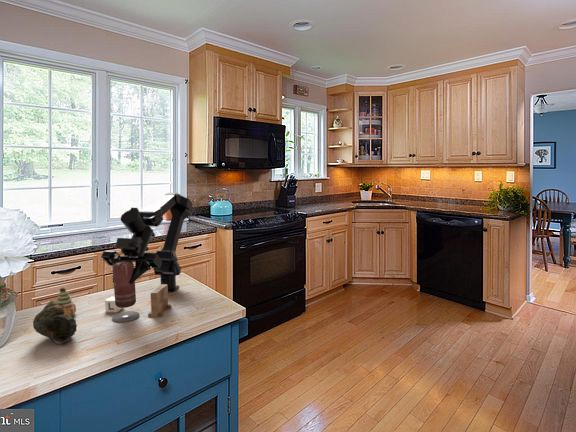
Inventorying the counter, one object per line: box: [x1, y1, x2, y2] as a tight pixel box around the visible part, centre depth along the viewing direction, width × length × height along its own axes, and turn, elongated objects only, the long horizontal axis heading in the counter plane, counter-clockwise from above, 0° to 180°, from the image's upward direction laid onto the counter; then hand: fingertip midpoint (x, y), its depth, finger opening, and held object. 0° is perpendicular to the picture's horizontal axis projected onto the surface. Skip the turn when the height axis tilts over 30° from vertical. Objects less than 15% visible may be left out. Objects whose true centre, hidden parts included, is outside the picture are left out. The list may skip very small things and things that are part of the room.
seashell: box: [32, 299, 78, 345], centre depth 101 cm, size 11×11×10 cm
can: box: [112, 260, 137, 309], centre depth 117 cm, size 6×6×14 cm
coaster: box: [111, 310, 140, 324], centre depth 118 cm, size 8×8×1 cm
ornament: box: [50, 287, 77, 319], centre depth 117 cm, size 8×6×10 cm
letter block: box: [104, 295, 123, 313], centre depth 124 cm, size 4×4×4 cm
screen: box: [147, 284, 173, 318], centre depth 123 cm, size 9×4×8 cm, turn 176°
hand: (121, 282), depth 115 cm, fingers closed on can, 5 cm apart
